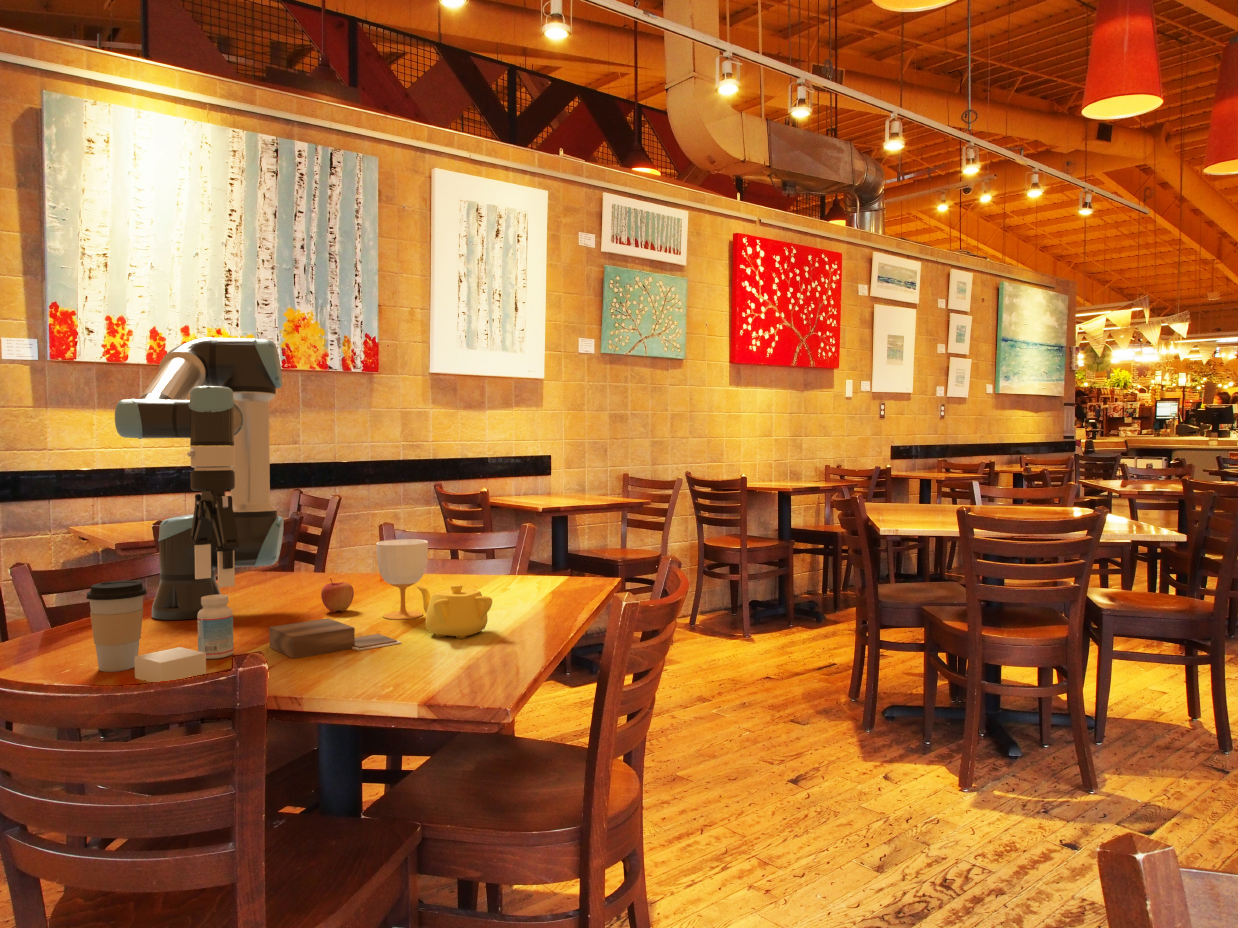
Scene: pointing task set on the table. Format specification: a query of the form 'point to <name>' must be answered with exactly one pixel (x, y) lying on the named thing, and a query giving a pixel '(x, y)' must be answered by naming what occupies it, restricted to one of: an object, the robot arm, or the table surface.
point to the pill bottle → (215, 627)
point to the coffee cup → (116, 623)
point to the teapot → (455, 611)
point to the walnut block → (311, 637)
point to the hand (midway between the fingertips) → (214, 582)
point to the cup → (402, 568)
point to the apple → (337, 596)
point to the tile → (373, 642)
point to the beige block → (170, 664)
